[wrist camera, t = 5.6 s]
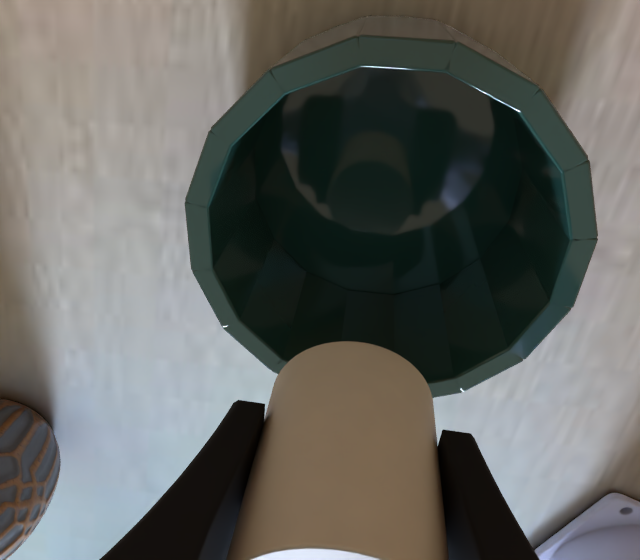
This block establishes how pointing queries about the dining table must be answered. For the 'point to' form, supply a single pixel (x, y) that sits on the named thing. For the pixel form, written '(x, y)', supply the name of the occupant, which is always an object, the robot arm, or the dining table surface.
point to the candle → (345, 463)
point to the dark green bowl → (393, 204)
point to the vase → (24, 473)
